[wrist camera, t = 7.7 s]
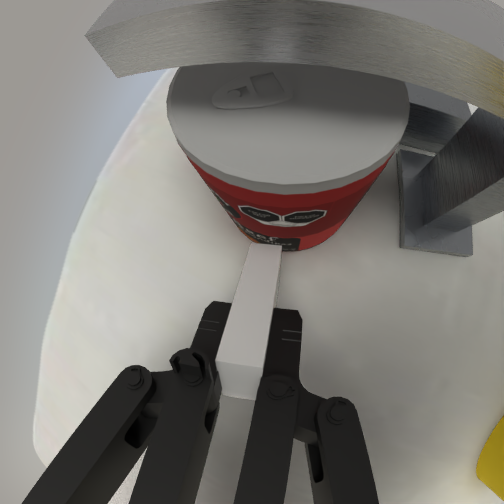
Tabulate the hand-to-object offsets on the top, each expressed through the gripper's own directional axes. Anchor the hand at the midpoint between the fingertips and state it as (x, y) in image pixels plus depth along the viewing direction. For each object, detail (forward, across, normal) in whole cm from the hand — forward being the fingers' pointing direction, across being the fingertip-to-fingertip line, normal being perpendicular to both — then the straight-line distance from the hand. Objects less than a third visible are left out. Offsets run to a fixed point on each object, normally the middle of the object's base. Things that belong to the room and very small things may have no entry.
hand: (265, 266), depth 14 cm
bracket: (+8, +5, +3) cm, 9 cm away
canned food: (+6, +1, +1) cm, 6 cm away
